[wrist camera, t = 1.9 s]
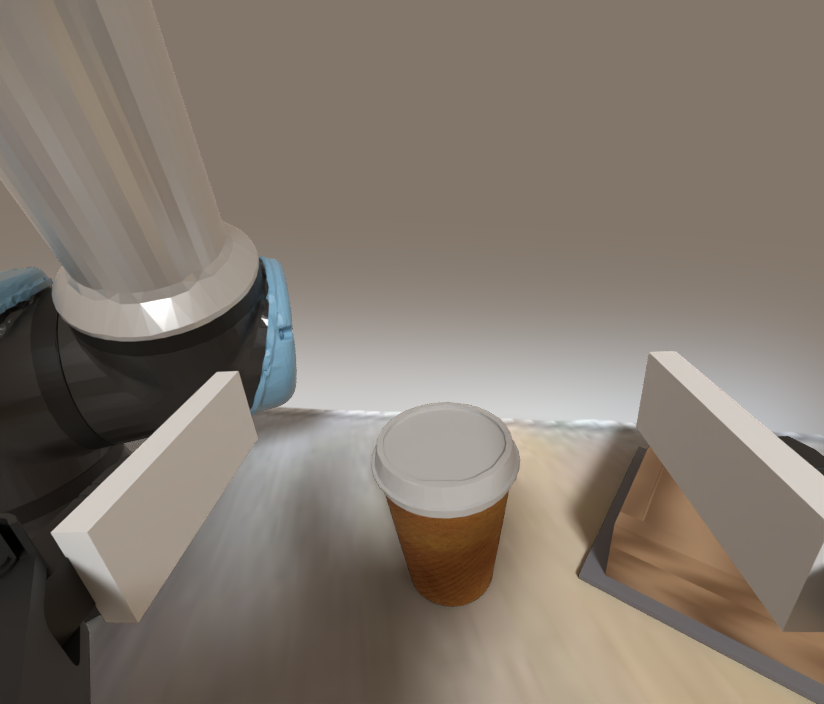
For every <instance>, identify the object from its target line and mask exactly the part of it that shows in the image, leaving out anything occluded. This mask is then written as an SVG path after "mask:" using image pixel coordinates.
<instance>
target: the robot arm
mask: <svg viewBox="0 0 824 704" xmlns="http://www.w3.org/2000/svg"><path fill="white" fill-rule="evenodd" d="M0 180H1V181H2V183H3V184H4V185H5V187H6V188H7V189H8V191H9V192H10V193H11V195H12V197H13V198H14V199H15V201H16V202H17V203H18V205H19V206H20V208H21V209H22V210H23V212H24V213H25V214H26V216H27V217H28V219H29V220H30V221H31V223H32V224H33V226H34V227H35V228H36V230H37V231H38V232H39V234H40V235H41V237H42V238H43V239H44V241H45V242H46V243H47V245H48V246H49V248H50V249H51V250H52V252H53V253H54V255H55V256H56V258H57V259H58V260H59V262H60V263H61V264H62V266H61V268H60V269H59V271H58V273H57V275H56V277H55V280H54V282H52V279H51V278H49V277H48V276H47V275H46V274H45V273H44V272H43V271H42V270H41V269H38V268H35V267H27V268H21V269H12V270H8V271H3V272H0V704H91V702H90V654H89V631H88V628H87V626H86V624H85V622H87V621H89V620H90V619H92V618H94V617H96V616H97V615H99V614H101V615H102V617H103V619H104V620H105V622H106V623H139V621H140V620H141V618H142V617H143V615H144V614H145V612H146V611H147V609H148V608H149V606H150V604H151V603H152V601H153V600H154V598H155V597H156V595H157V594H158V592H159V591H160V589H161V587H162V586H163V584H164V583H165V581H166V580H167V578H168V577H169V575H170V574H171V572H172V570H173V569H174V567H175V566H176V564H177V563H178V561H179V560H180V558H181V557H182V555H183V553H184V552H185V550H186V549H187V547H188V546H189V544H190V543H191V541H192V540H193V538H194V536H195V535H196V533H197V532H198V530H199V529H200V527H201V526H202V524H203V523H204V521H205V520H206V518H207V516H208V515H209V513H210V512H211V510H212V509H213V507H214V506H215V504H216V503H217V501H218V499H219V498H220V496H221V495H222V493H223V492H224V490H225V489H226V487H227V486H228V484H229V482H230V481H231V479H232V478H233V476H234V475H235V473H236V472H237V470H238V469H239V467H240V465H241V464H242V462H243V461H244V459H245V458H246V456H247V455H248V453H249V452H250V450H251V448H252V447H253V445H254V444H255V442H256V441H257V439H258V436H257V433H256V430H255V426H254V423H253V419H252V415H253V414H255V413H257V412H260V411H264V410H267V409H271V408H274V407H278V406H281V405H283V404H284V403H286V402H287V401H288V400H289V399H290V398H291V397H292V395H293V393H294V391H295V387H296V354H295V344H294V337H293V333H292V329H293V328H292V317H291V316H292V315H291V307H290V301H289V295H288V289H287V284H286V278H285V274H284V270H283V268H282V265H281V263H280V262H279V261H278V260H276V259H273V258H269V259H268V258H266V257H263V256H261V257H258V254H257V251H256V248H255V246H254V244H253V243H252V241H251V240H250V238H249V237H248V236H247V235H246V234H245V233H244V232H243V231H241V230H240V229H238V228H236V227H235V226H233V225H231V224H229V223H226V222H224V221H222V219H221V217H220V213H219V210H218V207H217V204H216V201H215V198H214V195H213V191H212V188H211V185H210V182H209V179H208V176H207V173H206V170H205V167H204V163H203V160H202V157H201V154H200V151H199V148H198V145H197V142H196V139H195V136H194V132H193V129H192V126H191V123H190V120H189V117H188V114H187V111H186V108H185V105H184V101H183V98H182V95H181V92H180V89H179V86H178V83H177V80H176V77H175V74H174V70H173V67H172V64H171V61H170V58H169V55H168V52H167V49H166V46H165V43H164V40H163V37H162V33H161V30H160V27H159V24H158V21H157V18H156V15H155V11H154V8H153V5H152V2H151V0H0ZM52 284H53V286H52ZM636 427H637V429H638V430H639V432H640V433H641V434H642V436H643V437H644V439H645V440H646V441H647V443H648V444H649V446H650V447H651V448H652V450H653V451H654V453H655V454H656V455H657V457H658V458H659V460H660V461H661V462H662V464H663V465H664V467H665V468H666V469H667V471H668V472H669V474H670V475H671V476H672V478H673V479H674V481H675V482H676V483H677V485H678V486H679V488H680V489H681V490H682V492H683V493H684V495H685V496H686V497H687V499H688V500H689V502H690V503H691V504H692V506H693V507H694V509H695V510H696V511H697V513H698V514H699V516H700V517H701V518H702V520H703V521H704V523H705V524H706V525H707V527H708V528H709V530H710V531H711V532H712V534H713V535H714V537H715V538H716V539H717V541H718V542H719V544H720V545H721V546H722V548H723V549H724V551H725V552H726V553H727V555H728V556H729V558H730V559H731V560H732V562H733V563H734V565H735V566H736V567H737V569H738V570H739V572H740V573H741V574H742V576H743V577H744V579H745V580H746V581H747V583H748V584H749V586H750V587H751V588H752V590H753V591H754V593H755V594H756V595H757V597H758V598H759V600H760V601H761V602H762V604H763V605H764V607H765V608H766V609H767V611H768V612H769V614H770V615H771V616H772V618H773V619H774V621H775V622H776V623H777V625H778V626H779V628H780V629H781V630H782V632H824V456H823V455H821V454H820V453H819V452H818V451H816V450H815V449H813V448H811V447H809V446H807V445H805V444H803V443H801V442H799V441H797V440H795V439H793V438H791V437H789V436H778V437H777V436H776V435H775V434H773V433H772V432H771V431H770V430H769V429H767V428H766V427H765V426H764V425H763V424H762V423H760V422H759V421H758V420H756V418H754V417H753V416H752V415H751V414H749V413H748V412H747V411H746V410H745V409H744V408H742V407H741V406H740V405H739V404H738V403H737V402H735V401H734V400H733V399H732V398H731V397H729V396H728V395H727V394H726V393H725V392H723V391H722V390H721V389H720V388H719V387H718V386H716V385H715V384H714V383H713V382H712V381H710V380H709V379H708V378H707V377H706V376H704V375H703V374H702V373H701V372H700V371H699V370H697V369H696V368H695V367H694V366H693V365H691V364H690V363H689V362H688V361H686V360H685V359H684V358H683V357H682V356H681V355H679V354H678V353H677V352H676V351H666V352H649V355H648V361H647V367H646V373H645V379H644V384H643V391H642V396H641V402H640V408H639V414H638V420H637V425H636ZM144 438H148V439H147V440H146V441H145V442H144V443H143V444H142V445H141V446H140V447H139V448H138V449H137V450H136V451H135V452H133V453H132V452H131V451H130V450H129V449H128V448H127V447H126V446H125V444H124V443H126V442H131V441H135V440H139V439H144Z"/></svg>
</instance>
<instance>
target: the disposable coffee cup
mask: <svg viewBox="0 0 824 704" xmlns="http://www.w3.org/2000/svg"><path fill="white" fill-rule="evenodd" d="M519 466H520V456H519V451H518V449H517V446H516V444H515V442H514V441H513V440H512V437H511V433H510V431H509V430H508V428H507V426H506V425H505V424H504V423H503V422H502V421H501V420H500V419H499V418H498V417H496V416H495V415H493V414H492V413H490V412H488V411H486V410H484V409H481V408H479V407H476V406H472V405H468V404H460V403H450V402H444V403H431V404H425V405H422V406H418V407H414V408H412V409H409V410H406V411H404V412H402V413H401V414H399V415H397V416H396V417H394V418H393V419H391V420H390V421H389V422H388V423H387V424H386V425H385V427H384V428H383V429H382V431H381V433H380V435H379V437H378V439H377V445H376V447H375V449H374V452H373V454H372V461H371V467H372V472H373V476H374V478H375V481H376V482H377V484H378V486H379V487H380V489H381V490H382V491H383V492H384V493H385V495H386V498H387V502H388V505H389V508H390V511H391V514H392V518H393V520H394V524H395V527H396V531H397V534H398V537H399V541H400V544H401V547H402V550H403V553H404V556H405V560H406V562H407V566H408V570H409V572H410V576H411V579H412V582H413V584H414V586H415V588H416V589H417V590H418V591H419V592H420V594H421V595H423V596H424V597H425V598H426V599H428V600H430V601H432V602H434V603H436V604H440V605H444V606H452V607H453V606H462V605H465V604H468V603H471V602H473V601H475V600H476V599H478V598H479V597H480V596H481V595H483V594H484V592H485V591H486V589H487V588H488V587H489V585H490V582H491V580H492V575H493V569H494V564H495V559H496V554H497V549H498V544H499V539H500V533H501V528H502V524H503V518H504V514H505V508H506V503H507V498H508V492H509V490H510V487H511V485H512V484H513V483H514V481H515V480H516V478H517V474H518V471H519Z"/></svg>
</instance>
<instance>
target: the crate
mask: <svg viewBox="0 0 824 704" xmlns="http://www.w3.org/2000/svg"><path fill="white" fill-rule="evenodd" d="M605 575H606V576H608V577H610V578H612V579H614V580H616V581H618V582H620V583H622V584H624V585H626V586H628V587H630V588H632V589H634V590H636V591H638V592H640V593H642V594H644V595H646V596H648V597H650V598H652V599H654V600H656V601H658V602H660V603H662V604H664V605H666V606H668V607H670V608H672V609H674V610H676V611H678V612H680V613H682V614H684V615H686V616H688V617H690V618H692V619H694V620H696V621H698V622H700V623H702V624H704V625H706V626H707V627H709V628H711V629H713V630H715V631H717V632H719V633H721V634H723V635H725V636H727V637H729V638H731V639H733V640H735V641H737V642H739V643H741V644H743V645H745V646H747V647H749V648H751V649H753V650H755V651H757V652H759V653H761V654H763V655H765V656H767V657H769V658H771V659H773V660H775V661H777V662H779V663H781V664H783V665H785V666H787V667H789V668H791V669H793V670H795V671H797V672H799V673H801V674H803V675H805V676H807V677H809V678H811V679H813V680H815V681H817V682H819V683H821V684H823V685H824V632H782V630H781V629H780V628H779V626H778V625H777V623H776V622H775V621H774V619H773V618H772V616H771V615H770V614H769V612H768V611H767V609H766V608H765V607H764V605H763V604H762V602H761V601H760V600H759V598H758V597H757V595H756V594H755V593H754V591H753V590H752V588H751V587H750V586H749V584H748V583H747V581H746V580H745V579H744V577H743V576H742V574H741V573H740V572H739V570H738V569H737V567H736V566H735V565H734V563H733V562H732V560H731V559H730V558H729V556H728V555H727V553H726V552H725V551H724V549H723V548H722V546H721V545H720V544H719V542H718V541H717V539H716V538H715V537H714V535H713V534H712V532H711V531H710V530H709V528H708V527H707V525H706V524H705V523H704V521H703V520H702V518H701V517H700V516H699V514H698V513H697V511H696V510H695V509H694V507H693V506H692V504H691V503H690V502H689V500H688V499H687V497H686V496H685V495H684V493H683V492H682V490H681V489H680V488H679V486H678V485H677V483H676V482H675V481H674V479H673V478H672V476H671V475H670V474H669V472H668V471H667V469H666V468H665V467H664V465H663V464H662V462H661V461H660V460H659V458H658V457H657V455H656V454H655V453H654V451H653V450H652V448H651V447H650V446H649V447H648V449H647V452H646V454H645V456H644V458H643V461H642V463H641V465H640V468H639V470H638V472H637V474H636V477H635V479H634V481H633V483H632V486H631V488H630V490H629V492H628V495H627V497H626V499H625V502H624V504H623V506H622V508H621V511H620V513H619V515H618V517H617V520H616V522H615V524H614V530H613V535H612V541H611V546H610V552H609V557H608V563H607V568H606V574H605Z"/></svg>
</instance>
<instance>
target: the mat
mask: <svg viewBox="0 0 824 704" xmlns="http://www.w3.org/2000/svg"><path fill="white" fill-rule="evenodd" d="M646 452H647V449H644V448H641V447H639V448H638V450H637V452H636V454H635V456H634V459H633V461H632V463H631V465H630V467H629V469H628V471H627V473H626V476H625V478H624V480H623V482H622V484H621V486H620V488H619V490H618V493H617V495H616V497H615V499H614V501H613V503H612V505H611V507H610V510H609V512H608V514H607V516H606V518H605V520H604V522H603V524H602V527H601V529H600V531H599V533H598V535H597V537H596V539H595V541H594V544H593V546H592V548H591V550H590V552H589V554H588V556H587V558H586V561H585V563H584V565H583V567H582V569H581V571H580V573H579V579H581V580H583V581H585V582H587V583H589V584H591V585H592V586H594V587H596V588H598V589H600V590H602V591H604V592H606V593H608V594H610V595H611V596H613V597H615V598H617V599H619V600H621V601H623V602H625V603H627V604H629V605H630V606H632V607H634V608H636V609H638V610H640V611H642V612H644V613H646V614H648V615H649V616H651V617H653V618H655V619H657V620H659V621H661V622H663V623H665V624H667V625H668V626H670V627H672V628H674V629H676V630H678V631H680V632H682V633H684V634H686V635H687V636H689V637H691V638H693V639H695V640H697V641H699V642H701V643H703V644H705V645H706V646H708V647H710V648H712V649H714V650H716V651H718V652H720V653H722V654H724V655H725V656H727V657H729V658H731V659H733V660H735V661H737V662H739V663H741V664H743V665H745V666H746V667H748V668H750V669H752V670H754V671H756V672H758V673H760V674H762V675H764V676H765V677H767V678H769V679H771V680H773V681H775V682H777V683H779V684H781V685H783V686H784V687H786V688H788V689H790V690H792V691H794V692H796V693H798V694H800V695H802V696H803V697H805V698H807V699H809V700H811V701H813V702H815V703H817V704H824V685H823V684H821V683H819V682H817V681H815V680H813V679H811V678H809V677H807V676H805V675H803V674H801V673H799V672H797V671H795V670H793V669H791V668H789V667H787V666H785V665H783V664H781V663H779V662H777V661H775V660H773V659H771V658H769V657H767V656H765V655H763V654H761V653H759V652H757V651H755V650H753V649H751V648H749V647H747V646H745V645H743V644H741V643H739V642H737V641H735V640H733V639H731V638H729V637H727V636H725V635H723V634H721V633H719V632H717V631H715V630H713V629H711V628H709V627H707V626H706V625H704V624H702V623H700V622H698V621H696V620H694V619H692V618H690V617H688V616H686V615H684V614H682V613H680V612H678V611H676V610H674V609H672V608H670V607H668V606H666V605H664V604H662V603H660V602H658V601H656V600H654V599H652V598H650V597H648V596H646V595H644V594H642V593H640V592H638V591H636V590H634V589H632V588H630V587H628V586H626V585H624V584H622V583H620V582H618V581H616V580H614V579H612V578H610V577H608V576H606V575H605V574H606V568H607V563H608V557H609V552H610V546H611V541H612V535H613V530H614V524H615V522H616V520H617V517H618V515H619V513H620V511H621V508H622V506H623V504H624V502H625V499H626V497H627V495H628V492H629V490H630V488H631V486H632V483H633V481H634V479H635V477H636V474H637V472H638V470H639V468H640V465H641V463H642V461H643V458H644V456H645V454H646Z"/></svg>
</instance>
